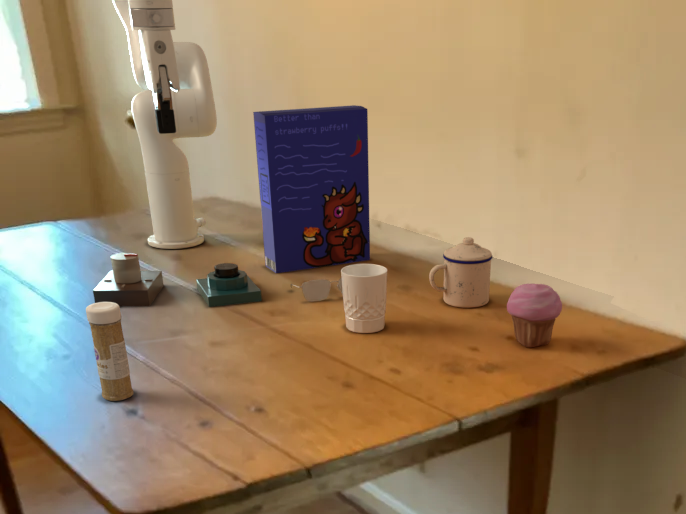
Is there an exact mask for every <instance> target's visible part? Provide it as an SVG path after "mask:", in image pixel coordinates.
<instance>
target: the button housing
mask: <svg viewBox="0 0 686 514" xmlns="http://www.w3.org/2000/svg"><path fill="white" fill-rule="evenodd" d="M238 273H239V276H237V277H234V278H217V277H215V270H214V271H213V270H212V271H210V272H209V273H208V274H206V278H196V280H195V281H196V290H197V291H198V292H199V294H200V296H201V297H202V298H203V300H204V302H205V303H206V305H207V306H208V308H212V307H213V308H214V307H222V306H232V305H239V304H240V305H241V304H249V303H259V302H262V301H263V299H262V291H261V289H260V288H259V287H258V286H257V284H255V282H254V281H253V280H252V279H251V277H250V276H249V275H248V274H247V272H246V271H244V270H241V269H238Z"/></svg>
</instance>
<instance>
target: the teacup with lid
mask: <svg viewBox="0 0 686 514" xmlns="http://www.w3.org/2000/svg"><path fill="white" fill-rule="evenodd" d="M442 258H443V260H444V261H443V263H440V264H436V265H434V266H433V267H432V268H431V269H430V271H429V275H428V279H429V283H430V285H431V287H432V288H433V289H434V290H435V291H436V292H441V293H443V302H444V303H445V304H446V305H449V306H451V307H455V308H463V309H473V308H478V307H482V306H486V305H487V304H488V303H489V301H490V290H491V289H490V288H491V269H492V259H493V253H492V251H491V250H489V249H488V248H486V247H482V246H481V245H479V244H478V243H475V239H474V238H473V237H471V236H470V237H469V236H468V237H464V238H463V239H462V242H461V243H458V244H456V245H455V246H452V247H449V248H447V249H445V250H444V252H443V254H442ZM440 270H443V286H438V285H437V284H436V282H435V274H436V273H437V272H438V271H440Z"/></svg>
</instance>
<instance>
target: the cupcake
mask: <svg viewBox="0 0 686 514" xmlns="http://www.w3.org/2000/svg"><path fill="white" fill-rule="evenodd" d="M562 310H563V301H562V300H561V297H560V295H559V293H558V291H556V290H555V289H554V288H553V287H552V286H550V285H548V284H545V283H529V282H528V283H523V284H520V285H518V286H516V287H515V288H514V290H513V291H512V292H511V293H510V296H509V297H508V301H507V302H506V311H507V313H508V314H509V315H510V316H511V319H512V324H513V331H514V335H515V340H516V341H517V342H518V343H519V344H521V345H522V346H523V347H526V348H534V347H538V346H544V345H548V344H549V343H550V342H551V340H552V335H553V329H554V325H555V322H556V319H557V318H558V317H559V316H560V315H561V312H562Z"/></svg>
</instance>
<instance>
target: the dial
mask: <svg viewBox="0 0 686 514" xmlns="http://www.w3.org/2000/svg"><path fill="white" fill-rule="evenodd" d="M110 261H111V267H112V271H113V274H114V280H115V282H116V283H120V284H130V283H136V282H139V281H141V280H142V277H141V271H142V270H141V265H140V257H139V254H138V253H136V252H135V253H134V252H119V253H115V254H112V255H111V256H110Z"/></svg>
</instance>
